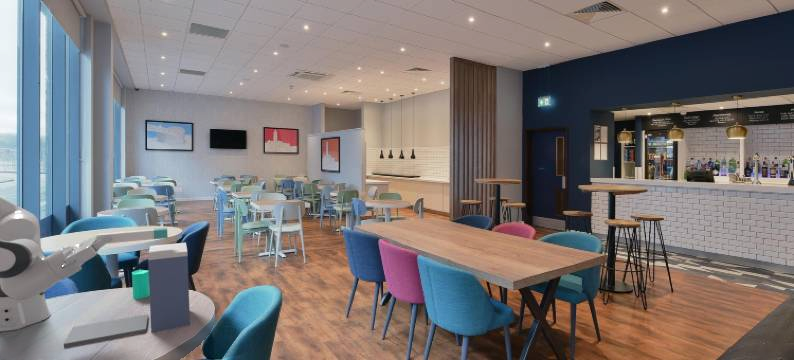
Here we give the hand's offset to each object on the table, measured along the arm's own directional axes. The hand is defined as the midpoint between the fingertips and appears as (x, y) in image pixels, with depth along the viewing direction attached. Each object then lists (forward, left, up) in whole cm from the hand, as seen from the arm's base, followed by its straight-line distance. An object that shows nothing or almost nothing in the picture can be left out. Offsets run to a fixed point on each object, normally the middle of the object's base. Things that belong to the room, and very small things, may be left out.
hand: (111, 236), depth 134 cm
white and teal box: (+6, 0, -2) cm, 7 cm away
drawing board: (-2, 0, -32) cm, 32 cm away
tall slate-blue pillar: (+16, 0, -32) cm, 36 cm away
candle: (+6, +34, -32) cm, 47 cm away
